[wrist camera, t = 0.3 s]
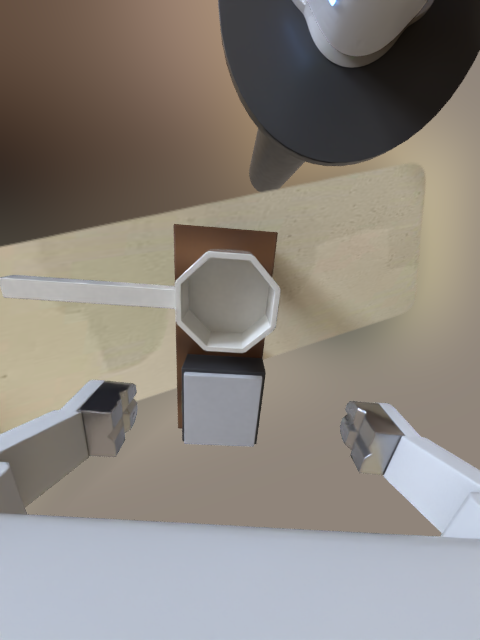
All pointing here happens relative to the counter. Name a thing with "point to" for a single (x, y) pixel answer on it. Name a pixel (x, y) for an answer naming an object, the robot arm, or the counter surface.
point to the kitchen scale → (221, 399)
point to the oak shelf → (192, 247)
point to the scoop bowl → (183, 298)
